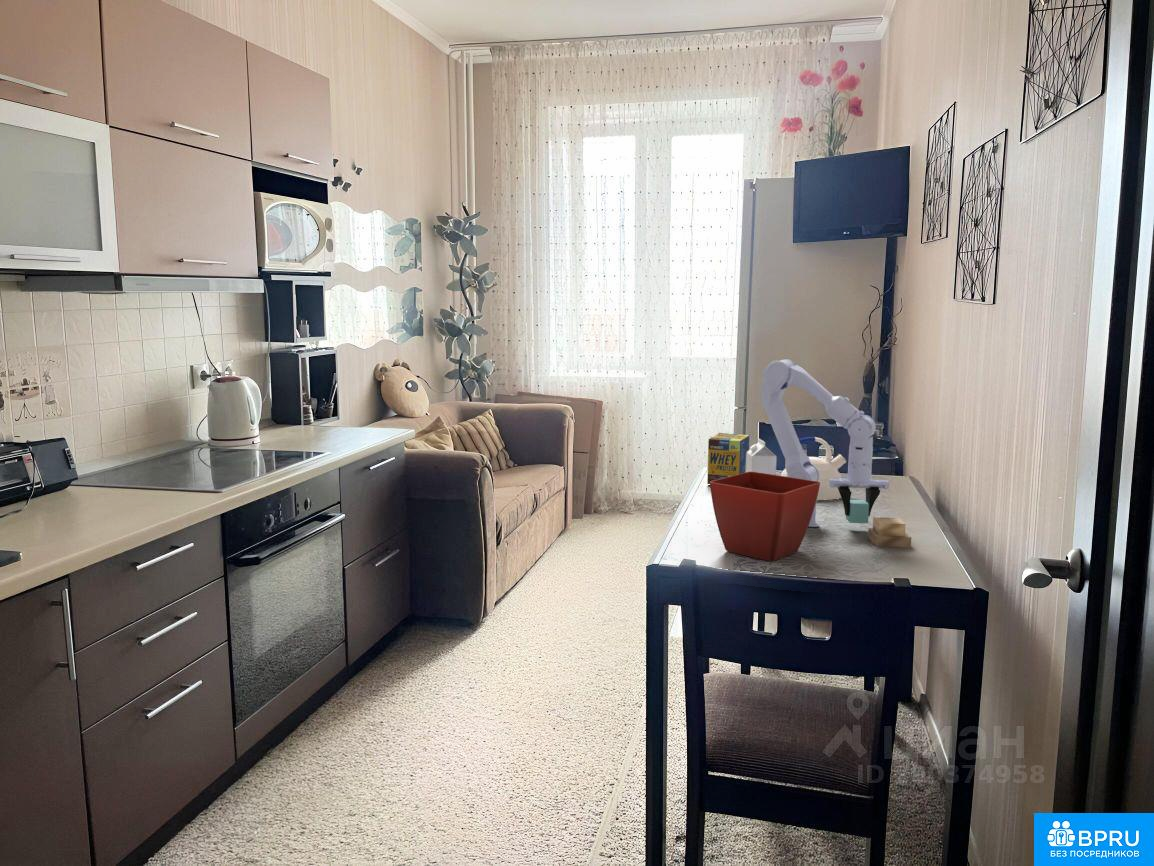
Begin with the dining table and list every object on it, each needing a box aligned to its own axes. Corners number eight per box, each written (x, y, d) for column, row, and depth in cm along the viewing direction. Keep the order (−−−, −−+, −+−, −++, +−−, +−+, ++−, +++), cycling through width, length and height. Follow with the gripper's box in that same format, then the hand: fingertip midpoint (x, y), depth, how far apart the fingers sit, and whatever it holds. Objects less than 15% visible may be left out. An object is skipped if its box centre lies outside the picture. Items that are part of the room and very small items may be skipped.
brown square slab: (876, 548, 205) (877, 536, 204) (867, 539, 213) (868, 528, 212) (910, 549, 204) (911, 537, 204) (900, 540, 212) (901, 528, 212)
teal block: (850, 522, 217) (851, 503, 217) (845, 518, 222) (846, 499, 221) (868, 523, 217) (869, 504, 216) (863, 519, 221) (864, 500, 221)
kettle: (854, 501, 254) (857, 441, 252) (784, 501, 255) (786, 441, 252) (835, 487, 274) (837, 432, 272) (770, 487, 275) (772, 431, 272)
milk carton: (768, 502, 253) (770, 438, 250) (774, 507, 246) (777, 442, 243) (744, 502, 252) (746, 438, 250) (750, 507, 245) (752, 442, 243)
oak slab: (879, 535, 206) (879, 523, 205) (872, 529, 211) (873, 517, 211) (904, 535, 205) (905, 523, 205) (897, 529, 211) (898, 517, 211)
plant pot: (819, 551, 201) (822, 481, 198) (779, 568, 187) (782, 493, 184) (748, 536, 213) (750, 470, 211) (705, 552, 199) (707, 481, 197)
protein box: (706, 486, 276) (707, 438, 274) (718, 477, 290) (719, 432, 288) (738, 488, 272) (740, 440, 270) (748, 480, 286) (750, 434, 284)
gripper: (834, 465, 214) (831, 518, 216) (893, 466, 213) (890, 519, 215) (828, 460, 221) (825, 511, 223) (885, 461, 220) (882, 513, 222)
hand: (857, 515), depth 219 cm, fingers closed on teal block, 4 cm apart
